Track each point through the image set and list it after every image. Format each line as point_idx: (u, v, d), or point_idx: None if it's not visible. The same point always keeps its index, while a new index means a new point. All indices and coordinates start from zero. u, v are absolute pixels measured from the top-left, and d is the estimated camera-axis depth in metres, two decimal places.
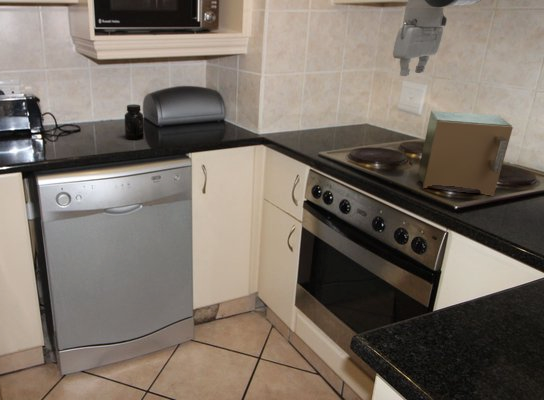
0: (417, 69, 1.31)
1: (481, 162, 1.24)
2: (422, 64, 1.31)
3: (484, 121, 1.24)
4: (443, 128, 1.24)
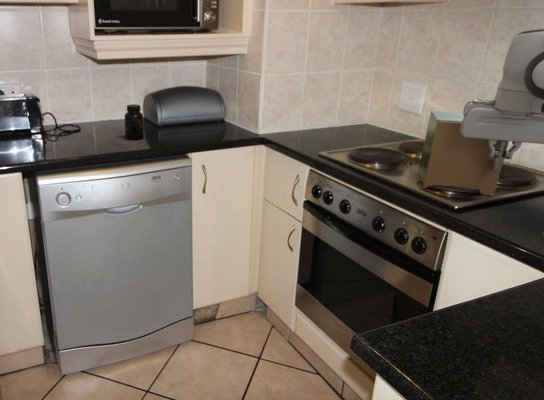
0: (504, 154, 1.17)
1: (481, 162, 1.24)
2: (511, 150, 1.16)
3: None
4: (443, 128, 1.24)
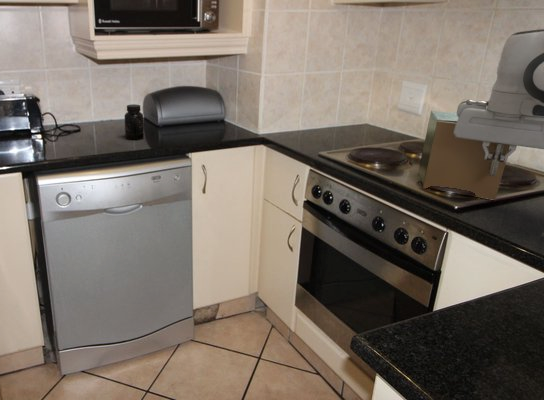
0: None
1: (482, 165, 1.22)
2: (506, 153, 1.13)
3: None
4: (443, 128, 1.24)
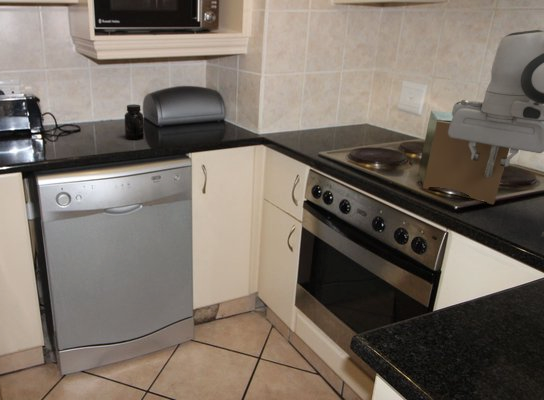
0: None
1: (480, 167, 1.20)
2: (507, 157, 1.11)
3: None
4: (442, 128, 1.24)
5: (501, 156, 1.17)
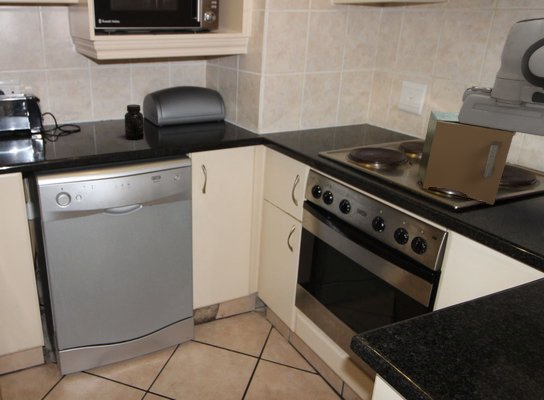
0: None
1: (480, 167, 1.20)
2: None
3: None
4: (442, 128, 1.24)
5: (501, 156, 1.17)
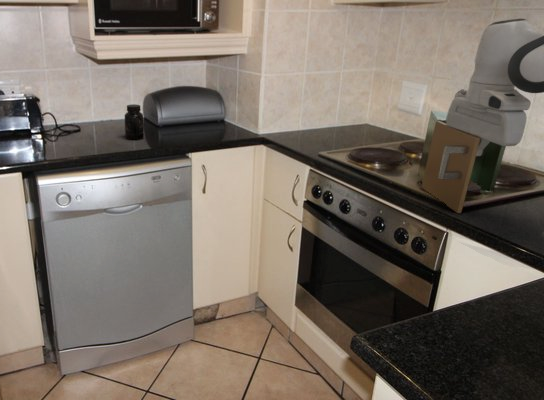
0: None
1: None
2: None
3: None
4: (437, 129, 1.23)
5: (466, 162, 1.12)
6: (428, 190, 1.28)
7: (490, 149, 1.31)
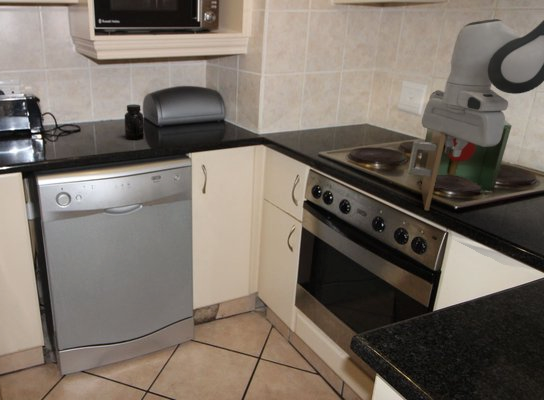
0: None
1: None
2: None
3: None
4: None
5: (434, 160, 1.13)
6: (422, 189, 1.28)
7: (490, 149, 1.31)
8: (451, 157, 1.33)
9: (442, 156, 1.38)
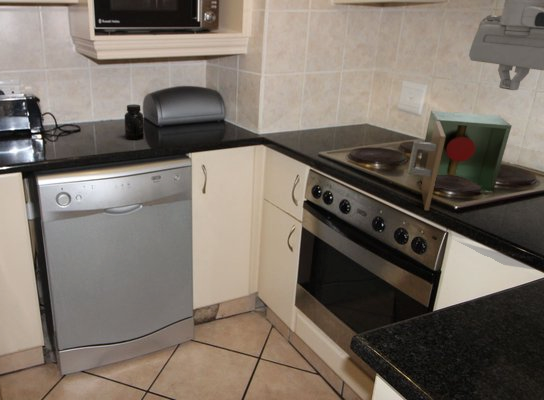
0: None
1: None
2: None
3: (484, 121, 1.24)
4: (434, 128, 1.24)
5: (434, 160, 1.13)
6: (422, 189, 1.28)
7: (490, 149, 1.31)
8: (451, 157, 1.33)
9: (442, 156, 1.38)
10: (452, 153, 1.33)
